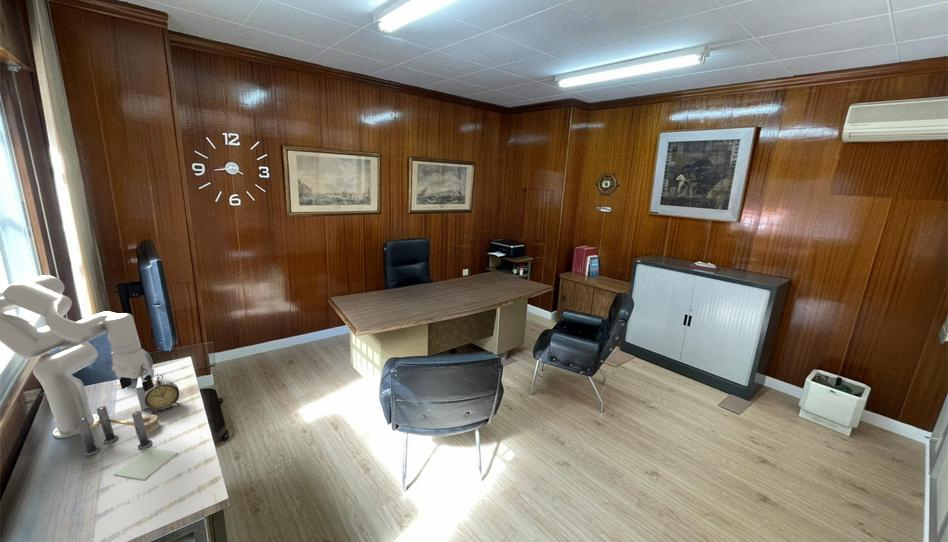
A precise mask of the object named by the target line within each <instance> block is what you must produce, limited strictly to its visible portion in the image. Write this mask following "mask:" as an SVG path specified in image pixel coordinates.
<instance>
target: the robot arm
mask: <svg viewBox="0 0 948 542" xmlns="http://www.w3.org/2000/svg"><path fill="white" fill-rule="evenodd" d="M64 291H65V284H64V282H63V281H62V279H59V278H58V277H56V276H52V275H44V274H43V275H39V276H36V277H31V278H30V277H29V278H27V279H23V280H19V281H16V282H13V283H10V284H9V285H5V286H1V287H0V342H1V343H2V344H4V345H5V346H6V347H7V348H9V349H10V350H11V351H12V352H13V353H15V354H16V355H18V356H19V357H21V358H23V359H26V360H33V359H36V358H39V357H41V356H44V355H46V356H45V357H43V358H41V359H40V360H38V361H37V362H36V363H35V364H34V365H33V367H32V373H33V375H34V377H35V378H36V380H37V381H38V382H39V383H40V385H41V386H42V389H43V390H44V391H43V392H44V393H45V396H46V399H47V402H48V404H49V407H50V409H51V413H52V416H53V419H52V420H51V421H52V423H56V427H55V428H54V429H53V431H52V435H53V437H55V438H58V439H64V438H71V437H75V436H78V435H81V432H80V429H79V426H78V423H77V420H78V419H79V418H82V417H87V420H88V423H89V426H90V427H91V426H93V425H94V424H96V423H98V422H99V421H100V419H99V416H98V413H97V414H96V413H93V411H92V408H91V404H90V401H89V399H88V394H87V392H86V388H85V385H84V383H83V382H82V380H81V379H80V378H78V377H75V376H74V375H73V374H75V373H77V372H79V370H82V369H83V368H85V367H87V366H89V365H91V364H93V363H94V362H95V361H96V360H97V359H98V358H99V354H98V353H99V352H98V351H97V349H96V348H95V347H94V346H93V345H92V344H91V343H90V341H91V340H94V339H96V338H98V337H100V336H103V335H106V334H107V338H108V341H109V344H110V348H111V351H112V352H111V361H112V366H111V370H112V371H113V372H114V375H115V376H116V377H117V378H116V379H118V381H119V384H121V387H120V388H121V389H123V390H124V389H126V387H128V386H130V385H132V382H131V379H130V378H134V379H136V378H140V379H141V380H142V381H143V382H142V385H143V389H144V391H148V390H150V389H151V388H153V387H154V385H153V381H152V378H153V376H154V373H155V369H153V367H152V368H150V367H149V366H148V363H147V360H146V357H145V355H144V353H143V351H142V349H143V348H142V347H141V342H140V338H139V335H138V330H137V327H136V324H135V320H134V317H133V315H132V314H131V313H127V312H125V313H124V312H122V313H117V312H113V311H110V310H109V311H107V310H106V311H102V312H99V313H95V314H93V315H90V316H88V317H84V318H83V319H80V320H77V321H74V320H71V319H68V318H66V317H64V316H65V315H66V314H67V313H68V312H69V310H70V309H71V307H72V304H73V302H72V300H71V298H70V297H69V296H67V295H64V294H63V293H64ZM18 308H23V309H25V310H28V311H30V312H33V313H34V314H37V315H40V316H42V317H45V323H46V325H43V326H40V327H39V328H38V327H35V326H33V325H32V324H31V323H30V322H28V321H27V320H26V319H24V318H22V317H18V316H16V315H12V314H7V313H5V312H9V311H11V310H15V309H18ZM58 349H60V350H58ZM56 350H58V351H56ZM53 351H55V352H53ZM51 352H53V353H51ZM49 353H51V354H49ZM47 354H49V355H47ZM141 373H142V374H141ZM143 375H146V377H144V376H143Z"/></svg>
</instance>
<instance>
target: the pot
mask: <svg viewBox="0 0 948 542" xmlns="http://www.w3.org/2000/svg"><path fill="white" fill-rule="evenodd" d="M142 418H143V421H144V425H145V429H146V432H147V435H149V434H152V433H153V432H155V431H156V430H157V428H158V429H159V428H160V420H159V417H158V415H156V414H148V415H146V416H142ZM134 430H135V434H137V431H136V428H135V427H134ZM148 433H149V434H148Z"/></svg>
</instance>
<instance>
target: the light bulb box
mask: <svg viewBox="0 0 948 542" xmlns="http://www.w3.org/2000/svg"><path fill="white" fill-rule="evenodd" d="M157 374H158V372H157V371H156V372H155V371H154V376H155V375H157ZM143 376H144V377H146V375H143ZM154 376H153V377H154ZM159 377H160V376H159V375H157V376H155V377H154V378H153V380H154V381H158V380H160V378H159ZM153 380H152V381H153ZM154 381H153V385H154V384H156V383H157V382H154ZM142 382H143V381H142V380H141V379H140V378H138V381H137V386H136V389H135V391H136V396H137V399H138V402H139V406H140V409H143V410H146V409H150V408H149V407H147V405H146V404H145V393H146V391H144V389H143V385H142ZM145 408H146V409H145Z"/></svg>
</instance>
